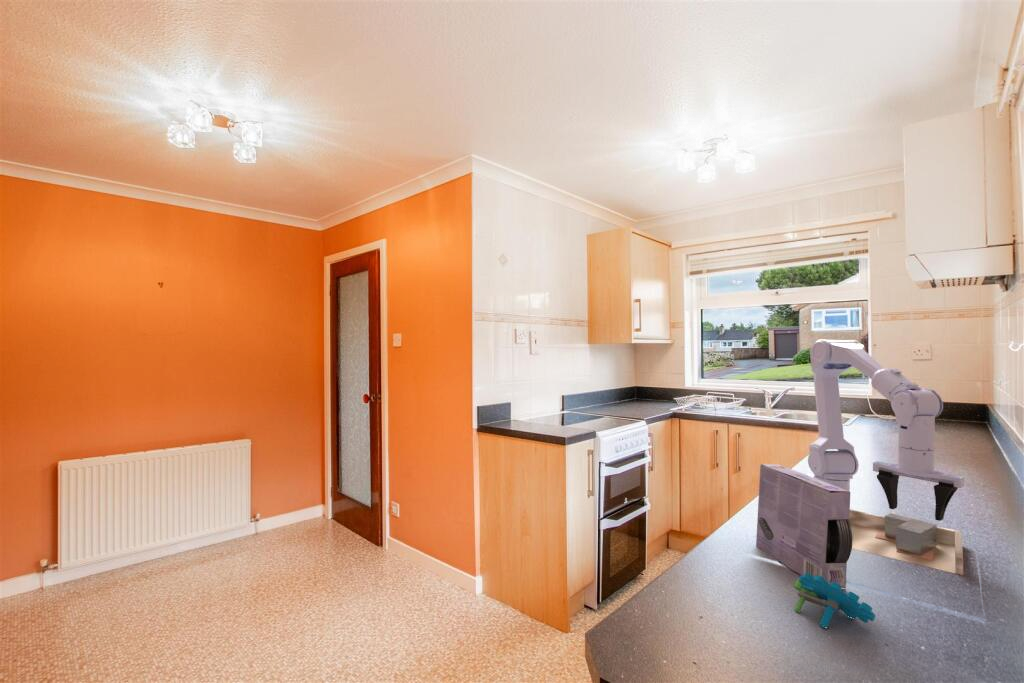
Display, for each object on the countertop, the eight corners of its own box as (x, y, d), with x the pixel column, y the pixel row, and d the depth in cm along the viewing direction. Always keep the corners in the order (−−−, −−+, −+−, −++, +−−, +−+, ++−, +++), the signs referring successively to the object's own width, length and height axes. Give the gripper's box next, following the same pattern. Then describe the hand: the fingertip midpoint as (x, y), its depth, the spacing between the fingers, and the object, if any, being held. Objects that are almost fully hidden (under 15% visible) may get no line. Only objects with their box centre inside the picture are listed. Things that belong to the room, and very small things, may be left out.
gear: (891, 623, 71) (853, 581, 69) (877, 661, 68) (837, 619, 67) (818, 597, 81) (783, 560, 79) (804, 630, 78) (768, 592, 77)
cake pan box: (854, 592, 83) (855, 489, 83) (829, 594, 82) (829, 490, 82) (776, 546, 102) (776, 462, 102) (754, 547, 101) (755, 463, 101)
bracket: (920, 556, 96) (920, 533, 96) (873, 542, 102) (873, 520, 102) (936, 546, 101) (936, 524, 101) (890, 533, 107) (890, 513, 107)
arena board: (816, 542, 104) (816, 526, 104) (831, 520, 117) (831, 505, 117) (963, 578, 88) (963, 558, 88) (960, 548, 102) (961, 531, 102)
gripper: (969, 452, 96) (968, 520, 96) (882, 439, 108) (882, 500, 108) (957, 456, 92) (956, 528, 92) (868, 443, 104) (868, 505, 104)
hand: (915, 513), depth 100 cm, fingers open, 7 cm apart
